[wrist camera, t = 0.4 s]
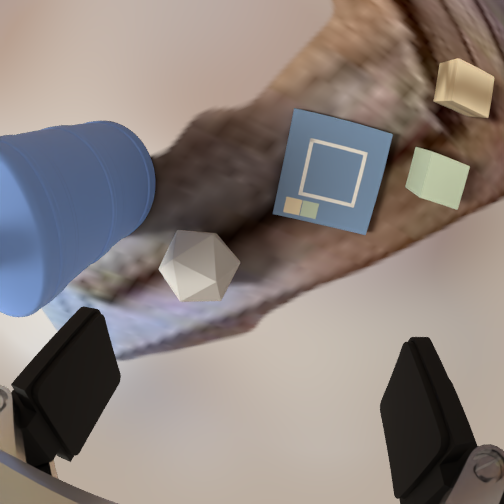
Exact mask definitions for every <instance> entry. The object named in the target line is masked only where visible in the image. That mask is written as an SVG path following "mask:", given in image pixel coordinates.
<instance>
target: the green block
mask: <svg viewBox="0 0 504 504" xmlns="http://www.w3.org/2000/svg"><path fill="white" fill-rule="evenodd" d="M469 168H470V166H468V165H465V164H463V163H460V162H458V161H455V160H453V159H450V158H448V157H445V156H443V155H440V154H438V153H435V152H432V151H429V150H425V149H422V148H418V147H416V148H415V152H414V156H413V160H412V164H411V168H410V171H409V175H408V179H407V182H406V186H405V187H406V188H407V189H408V190H410V191H411V192H413V193H414V194H416V195H417V196H418V197H420V198H423V199H426V200H429V201H432V202H436V203H439V204H442V205H445V206H448V207H450V208H453V209H456V210H457V209H458V206H459V203H460V200H461V196H462V193H463V190H464V186H465V183H466V179H467V175H468V172H469Z"/></svg>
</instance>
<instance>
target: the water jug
mask: <svg viewBox="0 0 504 504" xmlns="http://www.w3.org/2000/svg"><path fill="white" fill-rule="evenodd" d="M154 195H155V172H154V167H153V163H152V160H151V157H150V155H149V153H148V151H147V149H146V147H145V146H144V144H143V143H142V141H141V140H140V139H139V138H138V137H137V136H136V135H135V134H134V133H133V132H132V131H131V130H129V129H128V128H126V127H125V126H123V125H120V124H118V123H115V122H111V121H93V122H87V123H84V124H78V125H61V126H54V127H48V128H45V129H42V130H38V131H33V132H27V133H22V134H17V135H4V136H0V312H2V313H4V314H6V315H9V316H13V317H25V316H29V315H32V314H34V313H35V312H37V311H38V310H39V309H40V308H41V307H43V306H45V305H46V304H48V303H49V302H50V301H52V300H53V299H54V298H55V297H56V296H57V295H58V294H59V293H61V292H62V291H63V289H64V288H65V287H66V286H67V285H68V283H69V282H70V281H72V280H73V279H74V278H75V277H76V276H77V275H79V274H80V273H81V272H82V271H83V270H84V269H86V268H87V267H88V266H89V265H90V264H93V263H95V262H96V261H97V260H99V259H100V258H101V257H102V256H103V255H105V254H106V253H107V252H108V251H109V250H110V248H111V247H112V246H114V245H115V244H116V243H117V242H118V241H120V240H121V239H123V238H125V237H126V236H128V235H130V234H131V233H132V232H134V231H135V230H136V229H137V228H138V227H139V226H140V225H141V224H142V222H143V221H144V220H145V218H146V217H147V215H148V213H149V211H150V209H151V206H152V203H153V200H154Z"/></svg>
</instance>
